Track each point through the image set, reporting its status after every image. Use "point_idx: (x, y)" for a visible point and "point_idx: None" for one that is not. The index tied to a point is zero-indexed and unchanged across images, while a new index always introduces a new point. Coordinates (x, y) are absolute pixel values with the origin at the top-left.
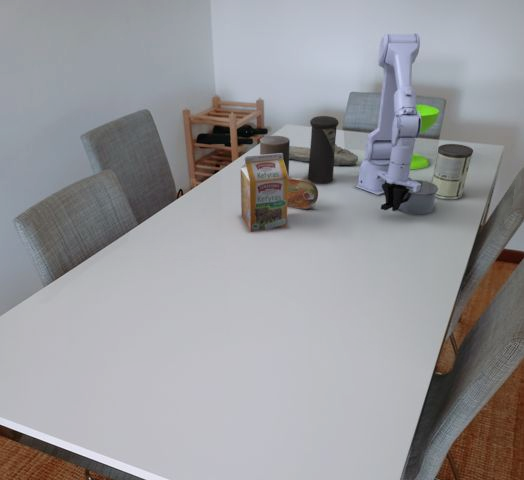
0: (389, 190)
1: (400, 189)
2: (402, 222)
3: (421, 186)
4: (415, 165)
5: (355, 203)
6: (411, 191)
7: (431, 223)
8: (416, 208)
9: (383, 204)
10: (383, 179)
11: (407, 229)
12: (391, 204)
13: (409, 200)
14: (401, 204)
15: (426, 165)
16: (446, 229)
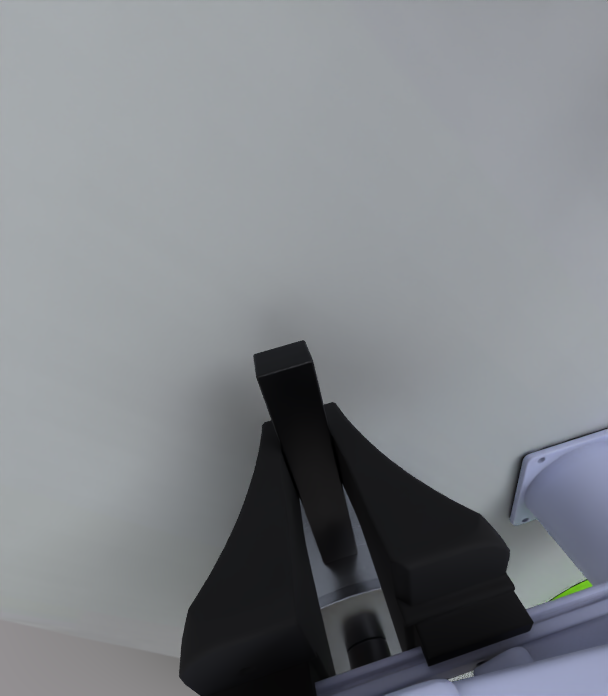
0: (376, 539)
1: (204, 673)
2: (198, 411)
3: (349, 663)
4: None
5: (563, 309)
6: (332, 616)
7: (131, 521)
8: None
9: (309, 382)
10: (569, 605)
11: (81, 389)
12: (280, 440)
13: (308, 549)
14: (345, 495)
15: None
16: (33, 549)
